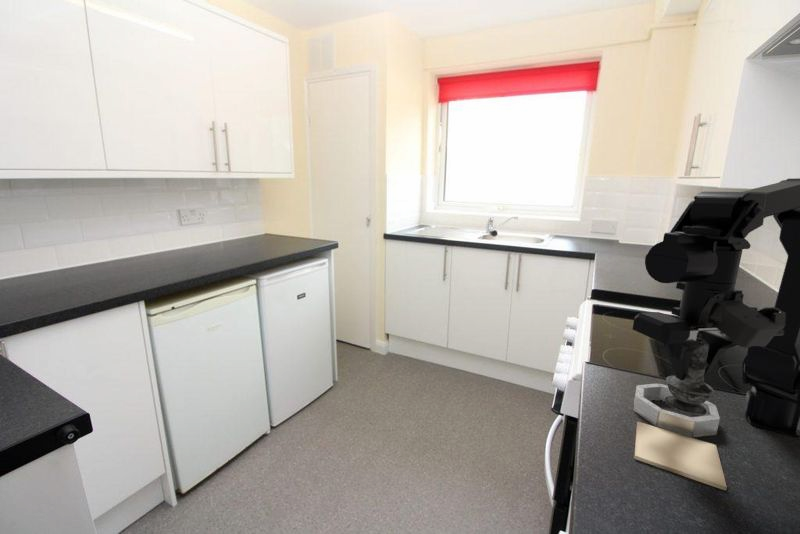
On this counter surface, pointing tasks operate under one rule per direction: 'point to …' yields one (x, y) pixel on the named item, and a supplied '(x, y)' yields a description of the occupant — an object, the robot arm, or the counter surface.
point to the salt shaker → (691, 384)
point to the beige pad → (679, 454)
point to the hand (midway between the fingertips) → (690, 378)
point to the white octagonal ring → (672, 420)
